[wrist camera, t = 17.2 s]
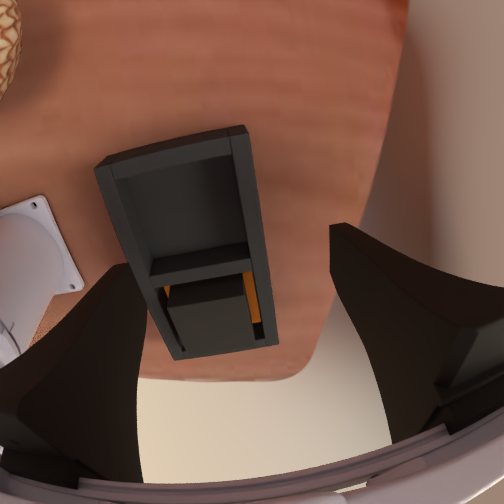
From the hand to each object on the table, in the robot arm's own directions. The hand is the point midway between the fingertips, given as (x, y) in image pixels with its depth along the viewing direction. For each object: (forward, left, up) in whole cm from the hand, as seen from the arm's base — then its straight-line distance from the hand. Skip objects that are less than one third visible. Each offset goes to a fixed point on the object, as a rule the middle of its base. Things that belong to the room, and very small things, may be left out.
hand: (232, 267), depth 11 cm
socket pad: (-2, -5, -9) cm, 11 cm away
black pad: (-2, -9, -9) cm, 13 cm away
